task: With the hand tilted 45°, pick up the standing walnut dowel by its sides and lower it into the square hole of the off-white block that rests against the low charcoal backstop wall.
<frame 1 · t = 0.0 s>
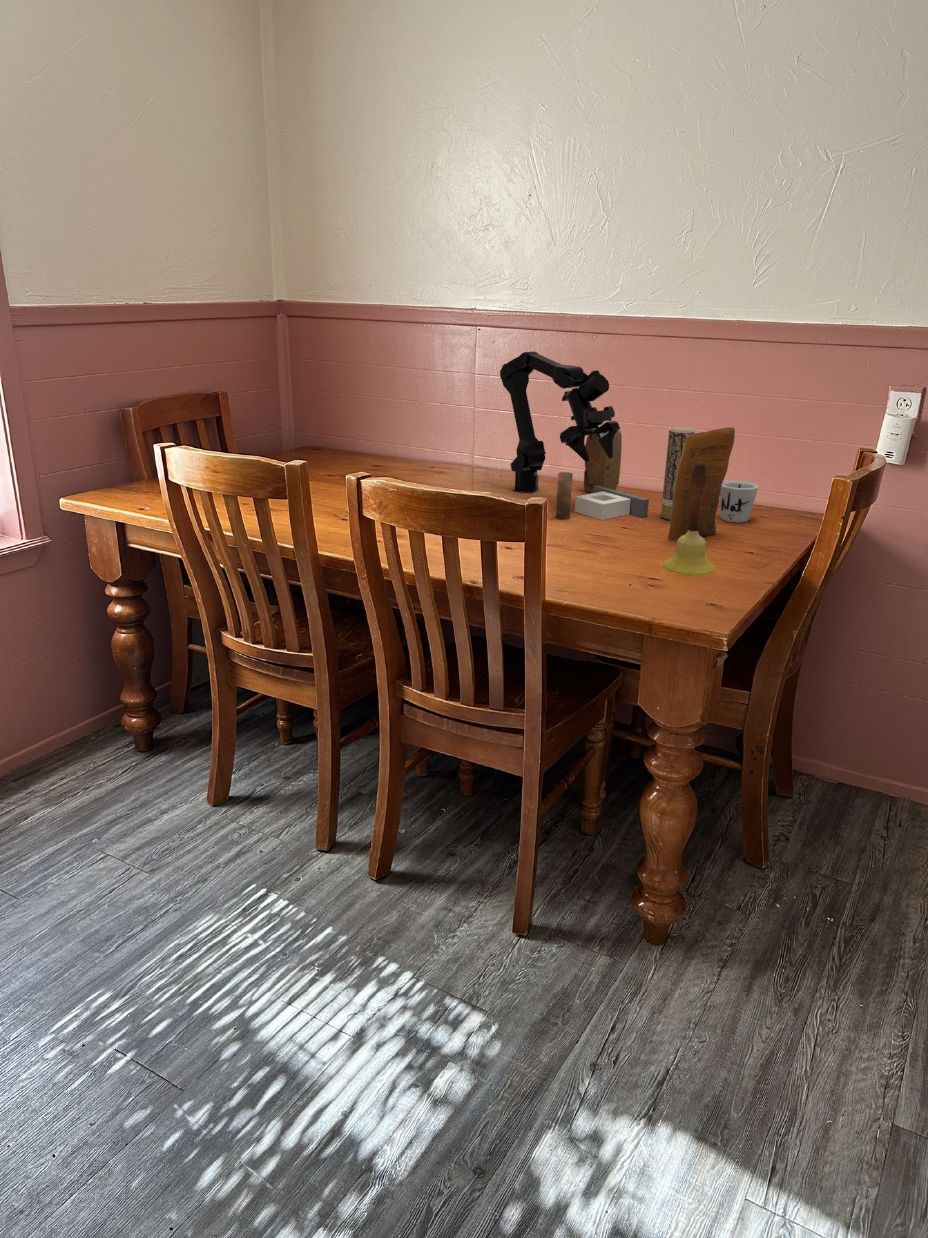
hand: (599, 459, 248), 15 cm above the table, tool tilted 35°, fingers open, 9 cm apart
handbell: (688, 568, 207), on the table
dowel: (562, 517, 247), on the table
block: (599, 493, 275), on the table
backstop wall: (619, 509, 256), on the table
pancake mix bag: (694, 536, 232), on the table
hole block: (601, 513, 252), on the table
mug: (736, 518, 249), on the table
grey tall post: (672, 518, 248), on the table
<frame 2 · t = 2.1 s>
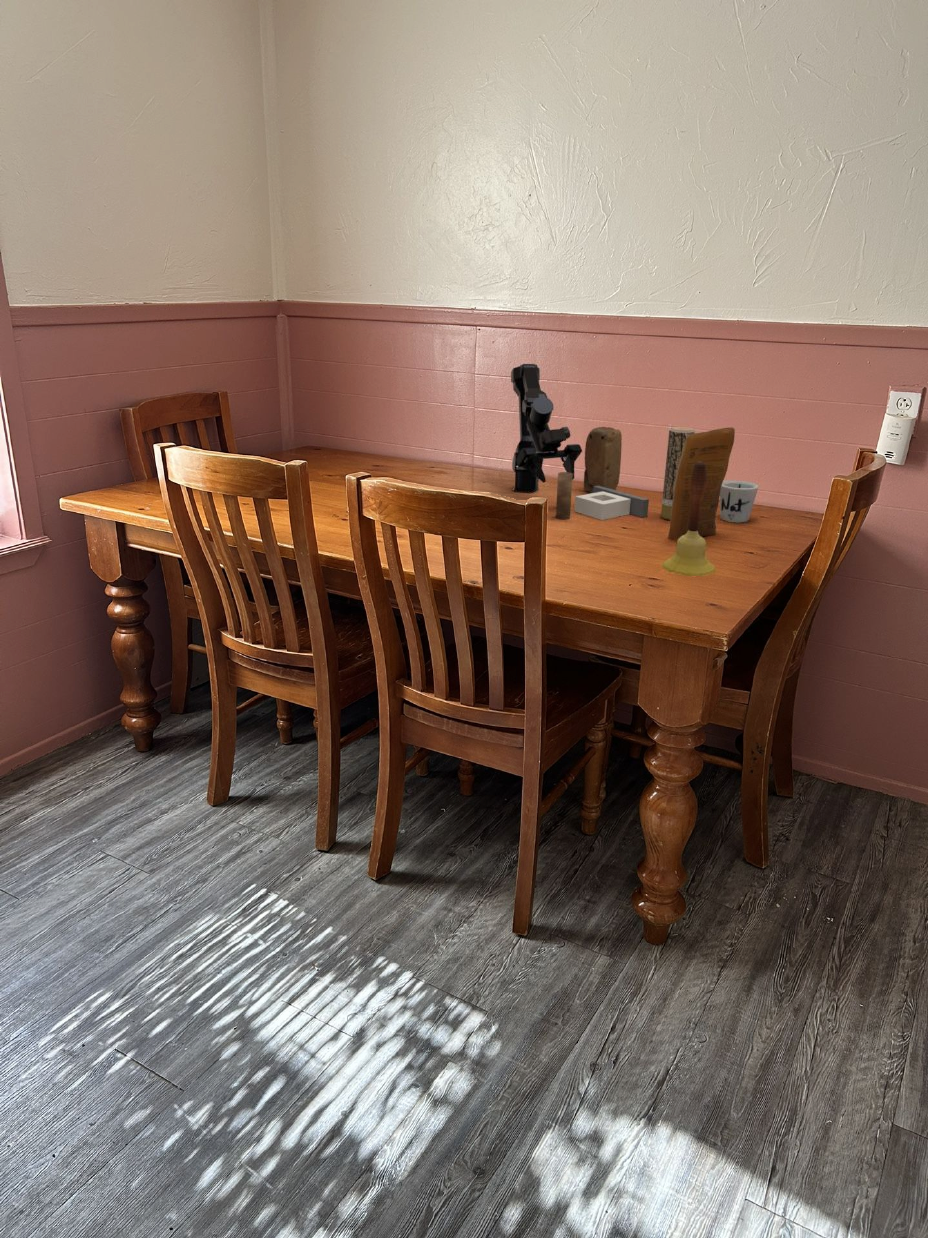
hand: (559, 480, 245), 10 cm above the table, tool tilted 45°, fingers open, 9 cm apart
nothing on the table moved.
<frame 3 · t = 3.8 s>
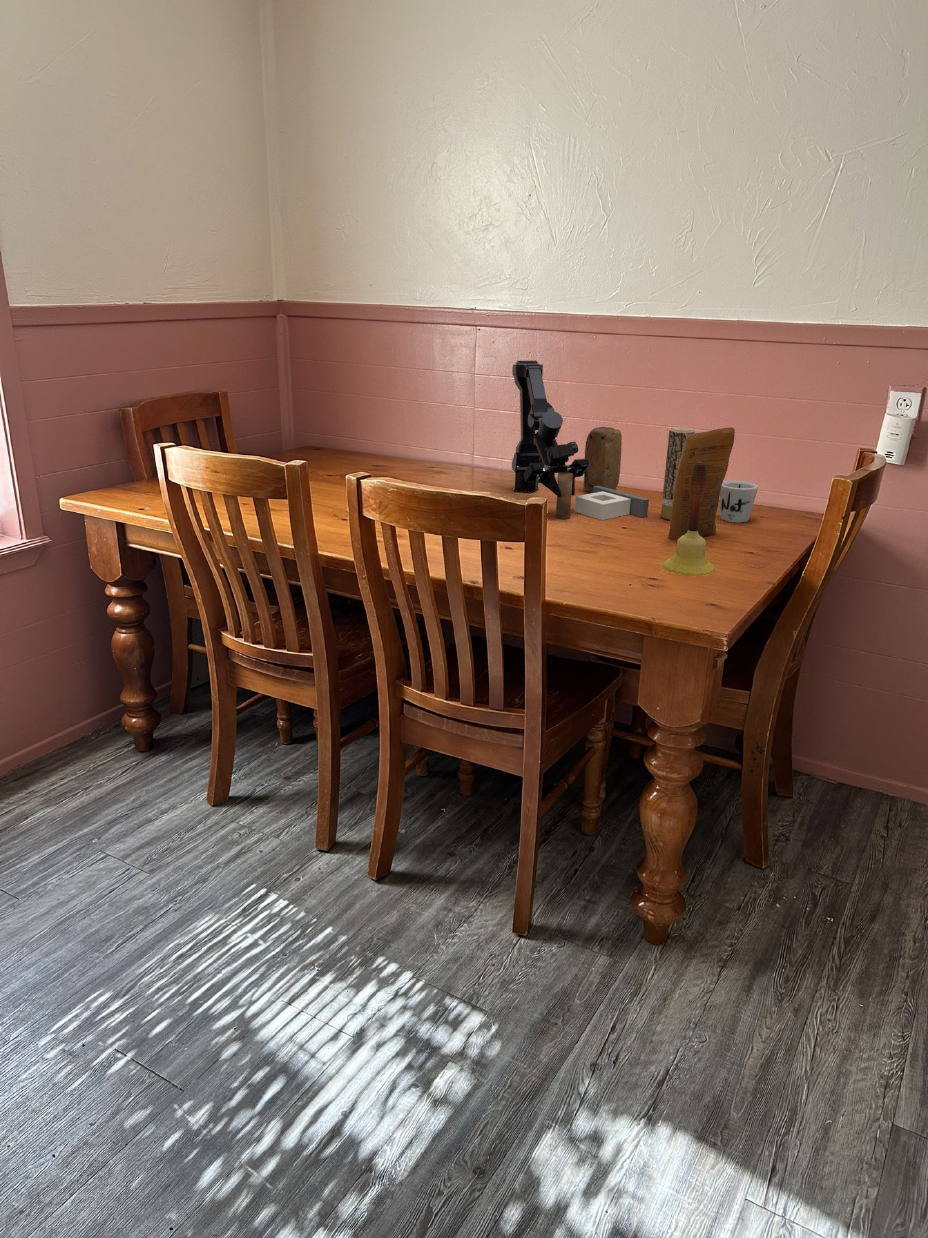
hand: (566, 495, 243), 7 cm above the table, tool tilted 45°, fingers closed on dowel, 4 cm apart
dowel: (562, 517, 247), on the table, touching gripper
everything else where it was.
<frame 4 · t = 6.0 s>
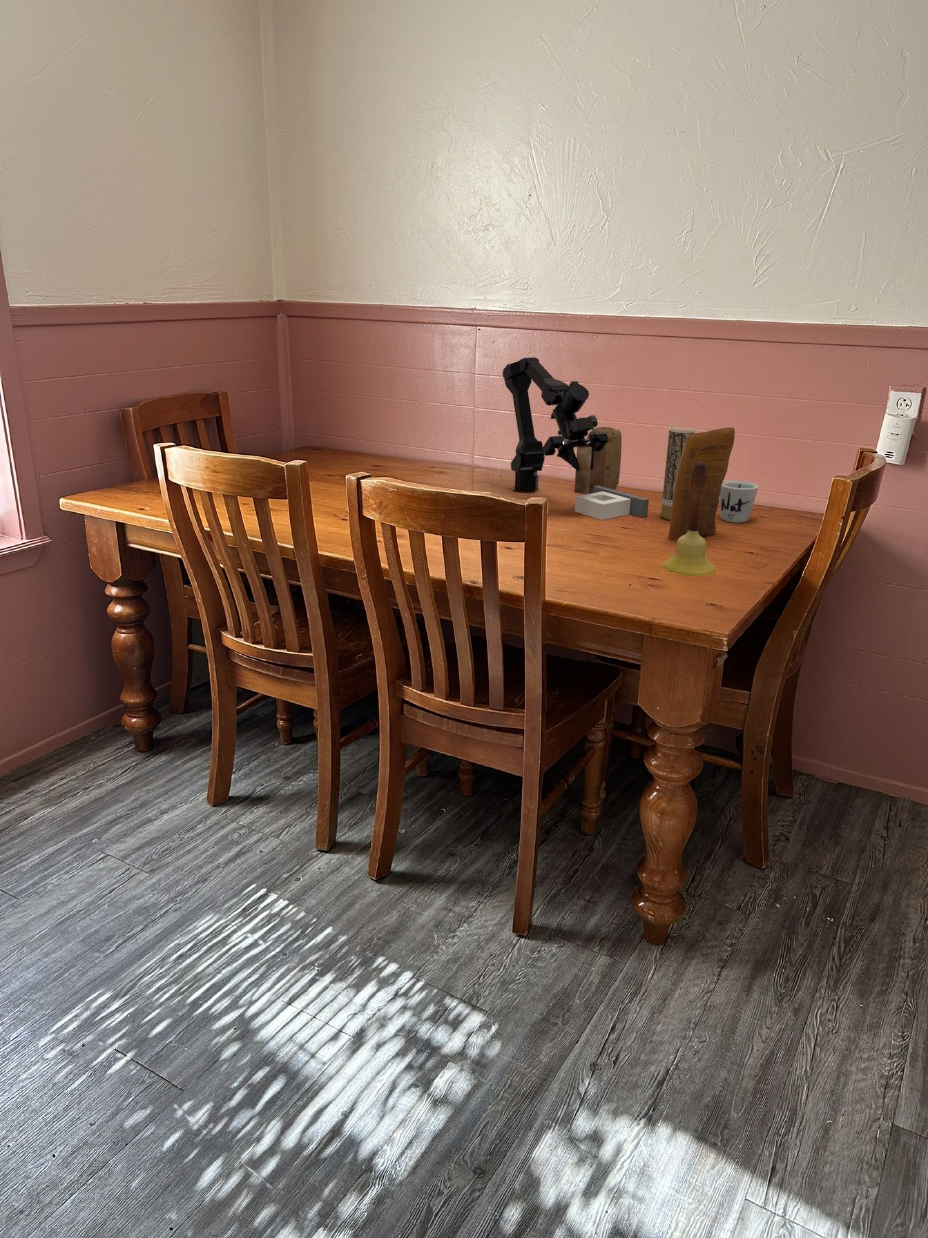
hand: (585, 469, 243), 13 cm above the table, tool tilted 45°, fingers closed on dowel, 4 cm apart
dowel: (581, 491, 247), point 7 cm above the table, touching gripper
everything else where it was.
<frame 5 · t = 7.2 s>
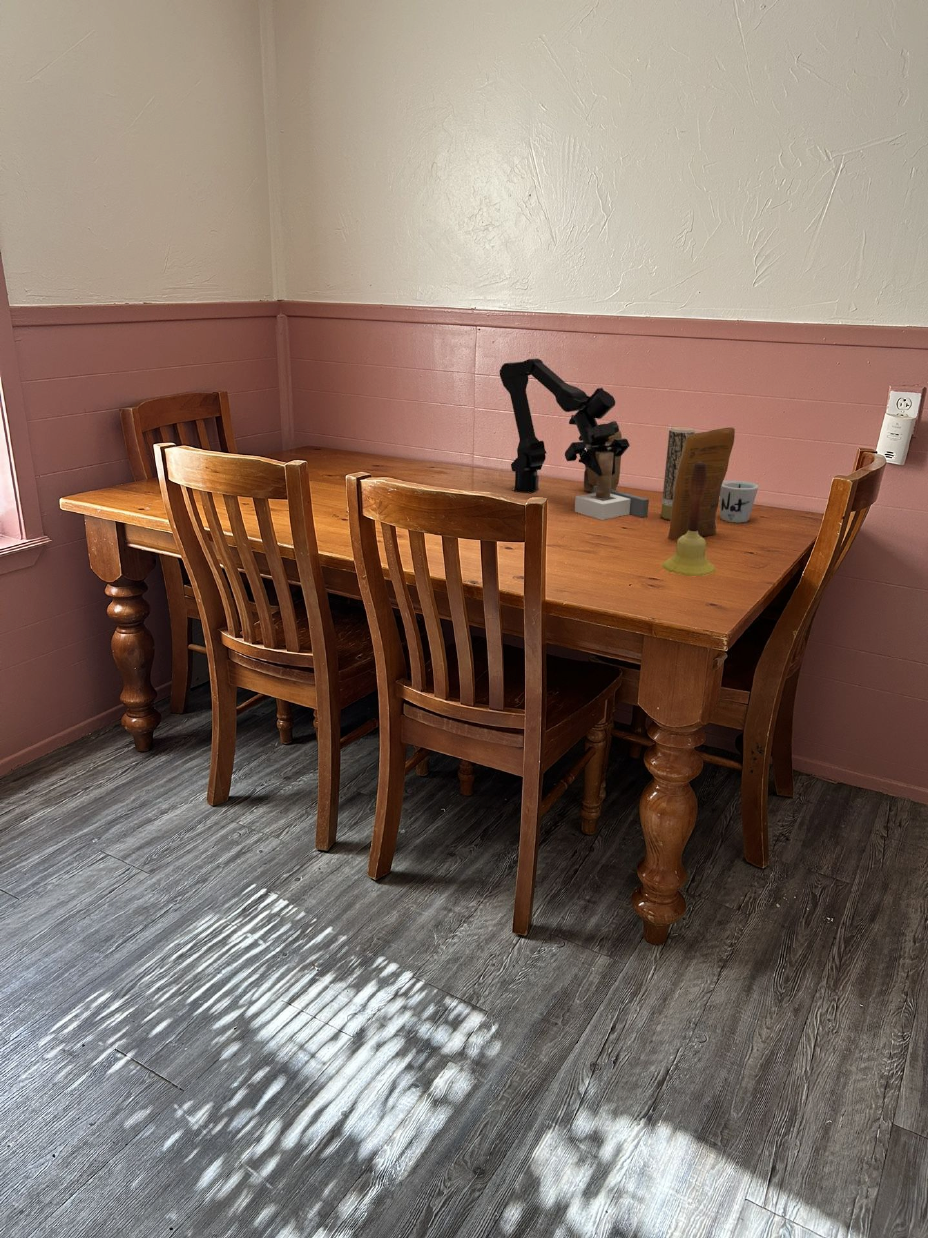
hand: (607, 474, 247), 11 cm above the table, tool tilted 45°, fingers closed on dowel, 4 cm apart
dowel: (602, 496, 250), point 5 cm above the table, touching gripper
everything else where it was.
when the fingers open (9 cm above the table, at t = 8.0 s): dowel drops 2 cm, resting in hole block.
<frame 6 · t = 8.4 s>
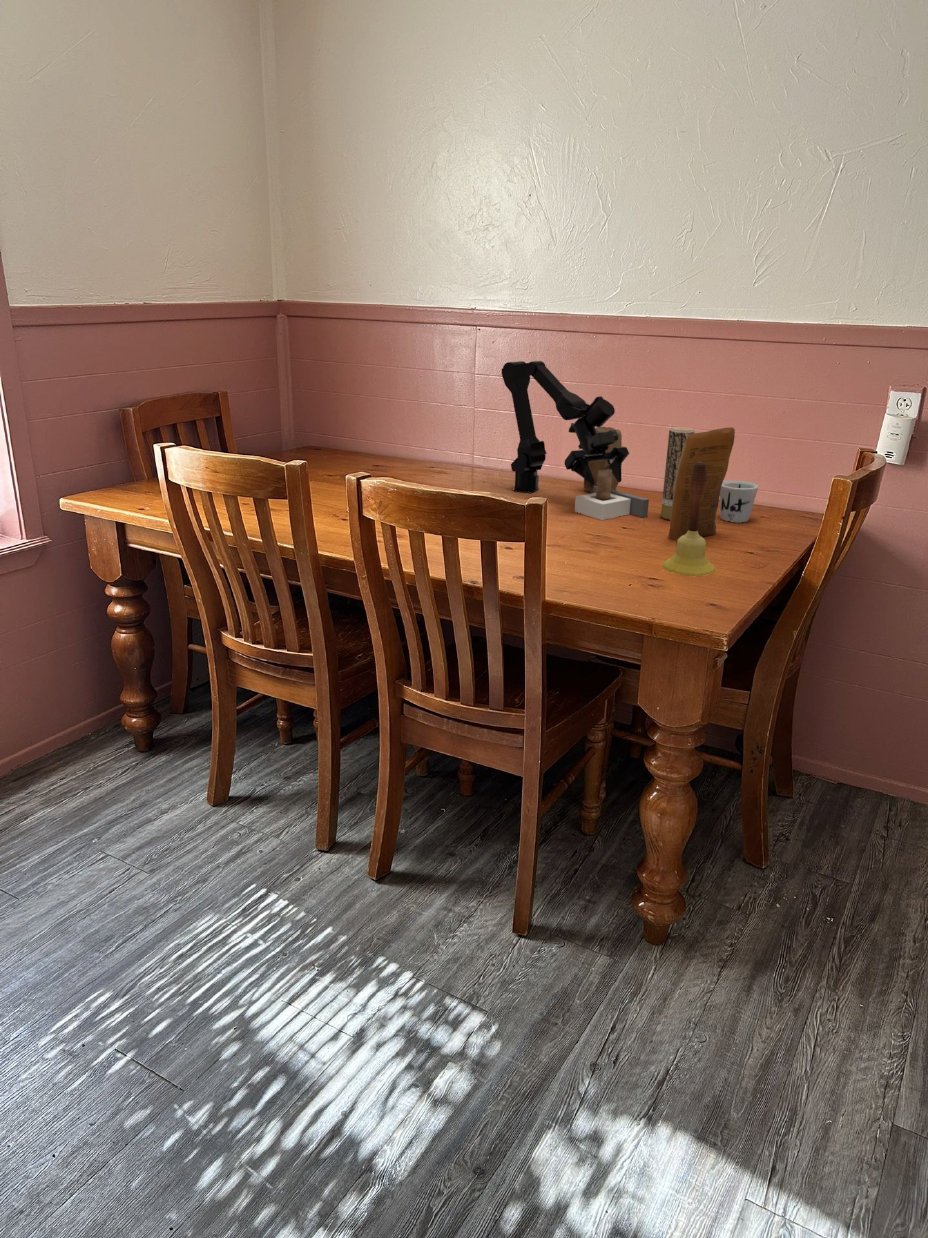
hand: (607, 482, 247), 9 cm above the table, tool tilted 45°, fingers open, 9 cm apart
dowel: (601, 513, 252), resting in hole block
everything else where it was.
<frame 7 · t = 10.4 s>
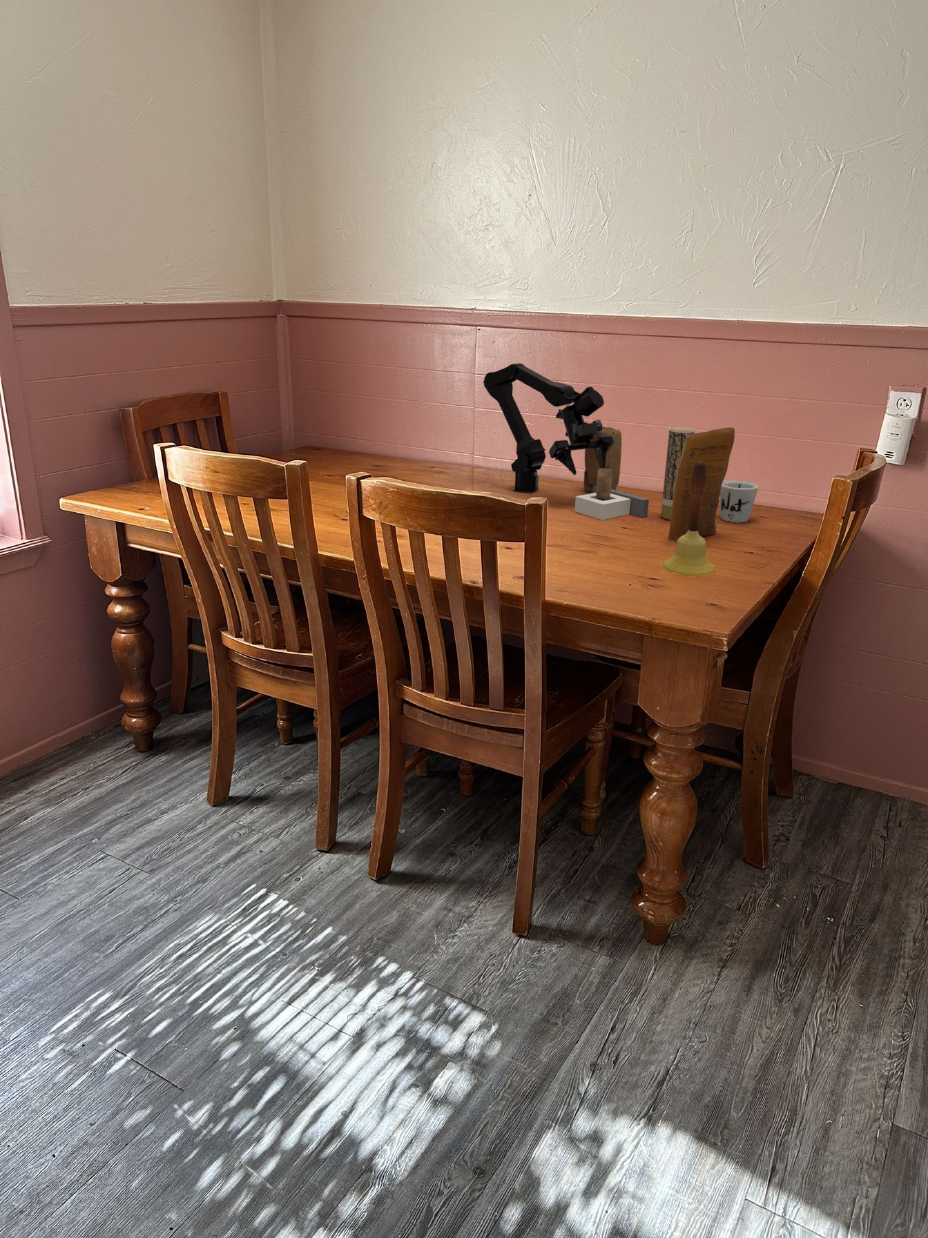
hand: (589, 472, 253), 11 cm above the table, tool tilted 40°, fingers open, 9 cm apart
nothing on the table moved.
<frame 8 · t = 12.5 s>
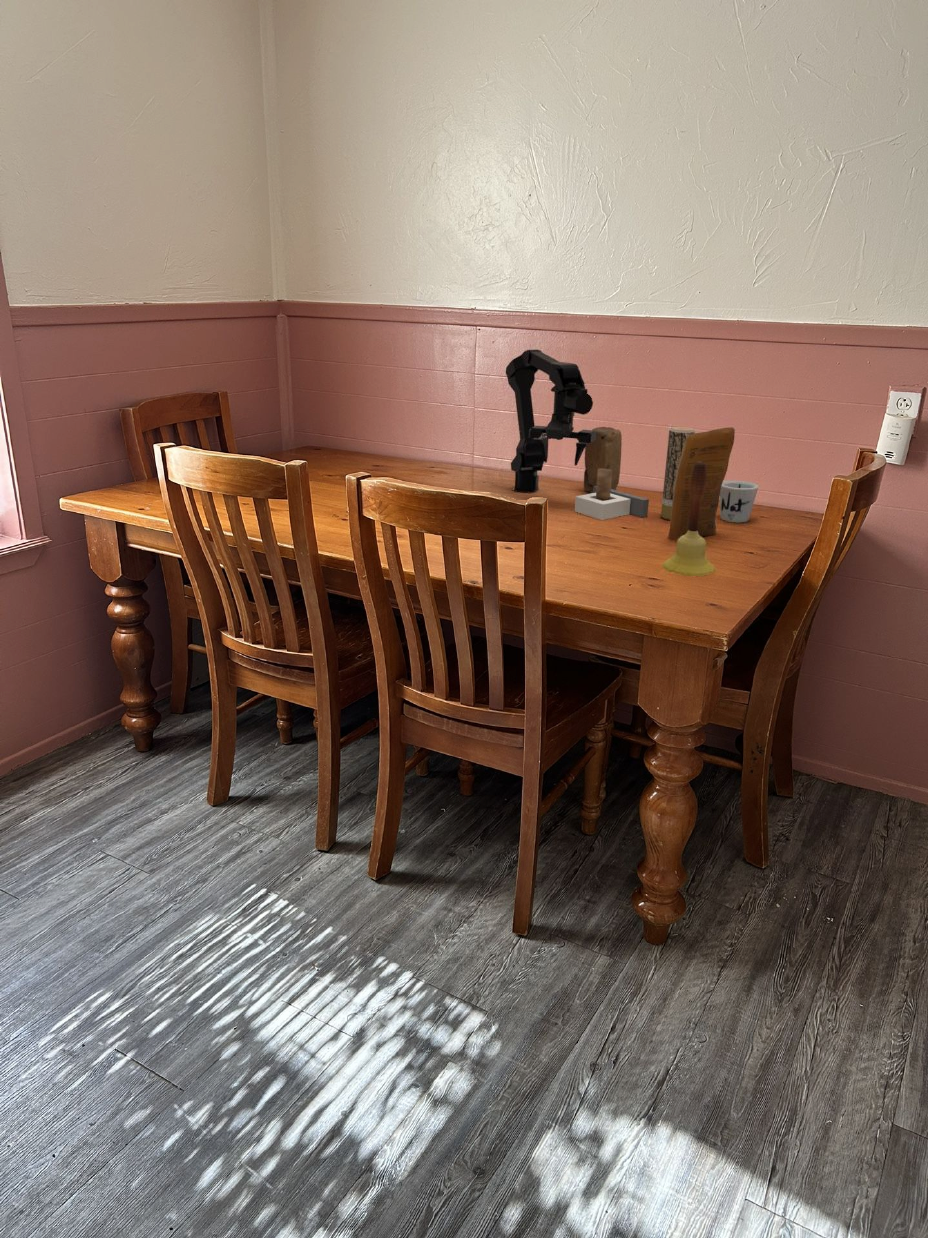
hand: (560, 463, 256), 12 cm above the table, tool pointing down, fingers open, 9 cm apart
nothing on the table moved.
at the end: dowel 0.0 cm from the hole block (horizontally); dowel resting in hole block; dowel tilted 0° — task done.
